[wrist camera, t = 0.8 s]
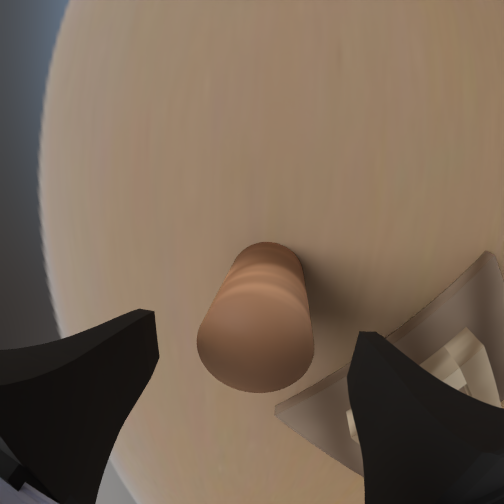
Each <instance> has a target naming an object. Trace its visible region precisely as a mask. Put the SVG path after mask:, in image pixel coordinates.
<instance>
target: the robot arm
mask: <svg viewBox="0 0 504 504" xmlns="http://www.w3.org/2000/svg"><path fill="white" fill-rule="evenodd" d="M158 359H159V350H158V341H157V333H156V323H155V313H154V311H150V310H144V309H137V310H134V311H131V312H128V313H126V314H124V315H121V316H119V317H117V318H114V319H112V320H110V321H107V322H105V323H103V324H100V325H98V326H96V327H93V328H91V329H88V330H85V331H83V332H80V333H78V334H75V335H72V336H70V337H67V338H63V339H60V340H57V341H53V342H49V343H45V344H41V345H36V346H30V347H24V348H19V349H8V350H0V504H95V502H96V498H97V494H98V490H99V486H100V483H101V480H102V476H103V473H104V470H105V467H106V464H107V461H108V459H109V456H110V453H111V451H112V448H113V446H114V443H115V441H116V439H117V436H118V434H119V432H120V429H121V428H122V426H123V424H124V422H125V420H126V418H127V417H128V415H129V413H130V412H131V410H132V408H133V407H134V405H135V404H136V402H137V400H138V399H139V397H140V395H141V394H142V392H143V390H144V389H145V387H146V385H147V384H148V382H149V380H150V379H151V376H152V374H153V372H154V369H155V367H156V364H157V362H158ZM347 385H348V395H349V402H350V406H351V410H352V414H353V418H354V422H355V426H356V430H357V435H358V439H359V443H360V447H361V453H362V459H363V470H364V486H365V504H504V409H503V408H499V407H496V406H493V405H490V404H488V403H485V402H482V401H480V400H478V399H475V398H473V397H471V396H469V395H466V394H464V393H462V392H460V391H458V390H457V389H455V388H453V387H451V386H450V385H448V384H446V383H444V382H443V381H441V380H439V379H438V378H436V377H435V376H433V375H432V374H431V373H429V372H428V371H426V370H425V369H423V368H422V367H421V366H419V365H418V364H417V363H415V362H414V361H413V360H411V359H410V358H409V357H408V356H406V355H405V354H404V353H403V352H401V351H400V350H399V349H398V348H396V347H395V346H394V345H393V344H391V343H390V342H389V341H388V340H386V339H385V338H384V337H383V336H381V335H380V334H378V333H377V332H364V331H359V335H358V339H357V343H356V346H355V350H354V354H353V357H352V361H351V364H350V367H349V371H348V374H347Z"/></svg>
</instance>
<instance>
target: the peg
mask: <svg viewBox="0 0 504 504" xmlns="http://www.w3.org/2000/svg"><path fill="white" fill-rule="evenodd" d="M197 349H198V353H199V356H200V358H201V361H202V363H203V364H204V366H205V367H206V369H207V370H208V371H209V372H210V373H211V374H212V375H213V376H214V377H215V378H216V379H218V380H219V381H221V382H222V383H224V384H226V385H228V386H230V387H232V388H235V389H237V390H241V391H245V392H252V393H266V392H273V391H277V390H280V389H283V388H286V387H288V386H290V385H291V384H293V383H295V382H296V381H297V380H299V379H300V378H301V377H302V376H303V375H304V374H305V373H306V371H307V370H308V368H309V366H310V364H311V362H312V359H313V356H314V339H313V332H312V325H311V318H310V312H309V305H308V299H307V293H306V286H305V280H304V274H303V269H302V266H301V263H300V261H299V259H298V258H297V257H296V255H295V254H294V253H293V252H292V251H291V250H289V249H288V248H286V247H285V246H282V245H280V244H277V243H272V242H261V243H256V244H253V245H251V246H249V247H247V248H246V249H244V250H243V251H242V252H241V253H240V254H239V255H238V256H237V258H236V259H235V261H234V263H233V265H232V267H231V269H230V271H229V272H228V274H227V276H226V278H225V280H224V282H223V284H222V286H221V287H220V289H219V291H218V293H217V295H216V297H215V299H214V301H213V303H212V304H211V306H210V308H209V310H208V312H207V314H206V316H205V318H204V320H203V322H202V323H201V325H200V328H199V331H198V335H197Z"/></svg>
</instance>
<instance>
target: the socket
mask: <svg viewBox="0 0 504 504" xmlns="http://www.w3.org/2000/svg"><path fill="white" fill-rule="evenodd" d="M385 339H386V340H388V341H389V342H390V343H391V344H393V345H394V346H395V347H396V348H398V349H399V350H400V351H401V352H403V353H404V354H405V355H406V356H408V357H409V358H410V359H411V360H413V361H414V362H415V363H417V364H418V365H419V366H421V367H422V368H423V369H425V370H426V371H428V372H429V373H431V374H432V375H433V376H435V377H436V378H438V379H439V380H441V381H443V382H444V383H446V384H448V385H450V386H451V387H453V388H455V389H457V390H458V391H460V392H462V393H464V394H466V395H469V396H471V397H473V398H475V399H478V400H480V401H482V402H485V403H488V404H490V405H493V406H496V407H499V408H502V407H501V403H500V402H501V401H503V400H504V281H503V278H502V275H501V272H500V269H499V266H498V263H497V260H496V257H495V255H494V254H492V253H490V252H488V251H485V252H484V253H483V254H482V255H481V256H480V257H479V258H478V259H477V260H476V261H475V262H474V263H473V264H472V265H471V266H470V267H469V268H468V269H467V270H466V271H465V272H464V273H463V274H462V275H461V276H460V277H459V278H458V279H457V280H456V281H455V282H454V283H453V284H451V285H450V286H449V287H448V288H447V289H446V290H445V291H444V292H443V293H441V294H440V295H439V296H438V297H437V298H436V299H435V300H433V301H432V302H431V303H430V304H429V305H427V306H426V307H425V308H424V309H423V310H421V311H420V312H419V313H418V314H416V315H415V316H414V317H413V318H411V319H410V320H409V321H408V322H406V323H405V324H404V325H403V326H401V327H400V328H399V329H397V330H396V331H395V332H393V333H392V334H391V335H389V336H388V337H387V338H385ZM350 364H351V362H350V363H349V364H347V365H346V366H344V367H343V368H341V369H339V370H338V371H336V372H335V373H333V374H331V375H330V376H328V377H326V378H325V379H323V380H321V381H320V382H318V383H316V384H315V385H313V386H311V387H309V388H308V389H306V390H304V391H302V392H301V393H299V394H297V395H295V396H293V397H291V398H290V399H288V400H286V401H284V402H282V403H280V404H278V405H276V406H275V415H274V416H275V417H277V418H278V419H279V420H281V421H282V422H283V423H285V424H286V425H287V426H288V427H290V428H291V429H292V430H294V431H295V432H297V433H298V434H299V435H301V436H302V437H303V438H305V439H306V440H308V441H309V442H310V443H312V444H313V445H315V446H316V447H318V448H319V449H321V450H322V451H323V452H325V453H326V454H328V455H329V456H331V457H332V458H334V459H335V460H337V461H339V462H340V463H342V464H343V465H345V466H346V467H348V468H349V469H351V470H353V471H354V472H356V473H358V474H359V475H361V476H363V477H364V470H363V459H362V453H361V447H360V443H359V439H358V435H357V430H356V426H355V422H354V418H353V414H352V410H351V406H350V402H349V395H348V385H347V374H348V371H349V367H350Z"/></svg>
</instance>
